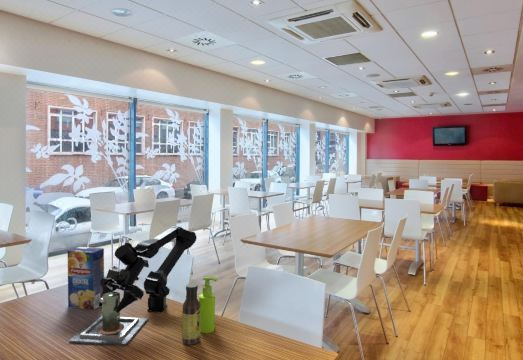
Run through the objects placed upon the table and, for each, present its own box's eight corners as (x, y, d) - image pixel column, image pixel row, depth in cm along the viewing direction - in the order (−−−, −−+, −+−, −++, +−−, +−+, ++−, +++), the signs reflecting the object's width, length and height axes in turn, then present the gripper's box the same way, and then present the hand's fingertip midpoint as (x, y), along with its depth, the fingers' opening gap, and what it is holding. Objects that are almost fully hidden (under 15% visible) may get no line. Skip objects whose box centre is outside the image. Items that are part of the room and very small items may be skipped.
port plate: (147, 320, 147) (147, 315, 147) (125, 346, 127) (125, 341, 127) (98, 317, 148) (98, 313, 148) (69, 342, 128) (68, 337, 128)
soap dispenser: (214, 334, 136) (215, 280, 135) (196, 332, 138) (196, 279, 136) (219, 327, 142) (220, 275, 141) (202, 325, 144) (202, 274, 142)
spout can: (112, 322, 142) (112, 290, 141) (123, 326, 139) (123, 293, 138) (94, 331, 135) (94, 297, 134) (105, 335, 132) (105, 300, 131)
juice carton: (104, 302, 162) (104, 248, 161) (93, 309, 155) (93, 252, 153) (79, 300, 165) (79, 246, 163) (68, 307, 157) (67, 250, 156)
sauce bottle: (200, 344, 129) (201, 288, 128) (182, 346, 128) (182, 289, 126) (199, 335, 135) (200, 281, 134) (181, 337, 134) (182, 282, 132)
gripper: (103, 256, 144) (77, 293, 135) (137, 264, 135) (111, 304, 126) (120, 271, 151) (96, 307, 142) (153, 279, 142) (130, 318, 133)
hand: (108, 309), depth 136 cm, fingers open, 9 cm apart
